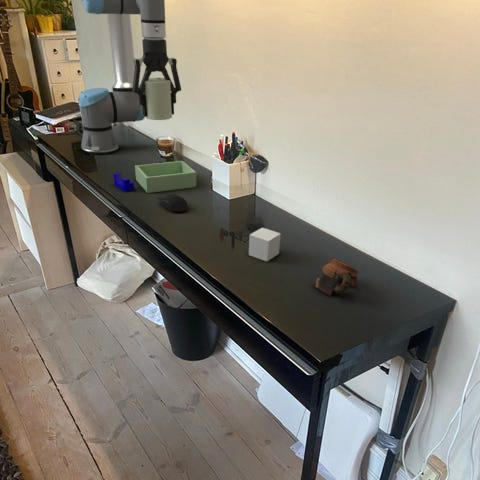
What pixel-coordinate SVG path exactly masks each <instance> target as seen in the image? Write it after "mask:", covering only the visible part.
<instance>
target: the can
mask: <svg viewBox="0 0 480 480" xmlns="http://www.w3.org/2000/svg"><path fill="white" fill-rule="evenodd" d="M144 95H146V105H147V116H145V119H147V120H153V121H167V120H170V119H173V115H172V110H171V87H170V80H168V81H167V80H165V78H164V77H149V80H148V81H145V91H144Z"/></svg>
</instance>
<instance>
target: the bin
mask: <svg viewBox="0 0 480 480" xmlns="http://www.w3.org/2000/svg"><path fill="white" fill-rule="evenodd" d="M134 170H135V171H134V172H135V181H136V182H137V183H138V184H139V185H140V187H142V189H143V190H144V191H145V192H146V193H147V194H150V193H158V192H166V191H167V192H168V191H174V190H183V189H191V188H197V172H196V171H195V170H194V169H193V168H192V167H191V166H190V165H188V164H187V163H186V162H185V161H183V160H176V161H166V162H156V163H148V164H137V165H134Z"/></svg>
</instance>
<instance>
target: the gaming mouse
mask: <svg viewBox="0 0 480 480" xmlns="http://www.w3.org/2000/svg"><path fill="white" fill-rule="evenodd" d="M159 199H160V204H161V206H162V207H164V208H165V209H167V210H168V211H169V212H173V213H174V212H175V213H177V212H178V213H180V212H184V211H187V210H188V209H189V205H188V202H187V200H186V199H185V198H184V197H182V196H180V195H178V194H174V193H166V195H165V196H164V197H159Z"/></svg>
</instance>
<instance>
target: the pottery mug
mask: <svg viewBox="0 0 480 480" xmlns="http://www.w3.org/2000/svg"><path fill="white" fill-rule="evenodd" d="M321 270H322V271H321V273H320V277H317V278H316V280H315V288H317V289H318V290H319V291H320V292H322V293H324V294H326V295H327V296H332V294H333V292H335V294H337V295H343V294H344V293H345V292H346V291H347V290H348V289H349V288H350V286H351V287H356V285H357V282H358V281H357V280H358V276H357V275H358V273H359V270H358V269H356V268H355V267H353V266H352V265H349V264H348V263H346V262H343V261H341V260H339V259H338V258H335V257H331V258H330V260H329V261H327V262H326V263H324V264H323V265H322V269H321ZM336 276H337V278H336Z"/></svg>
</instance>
